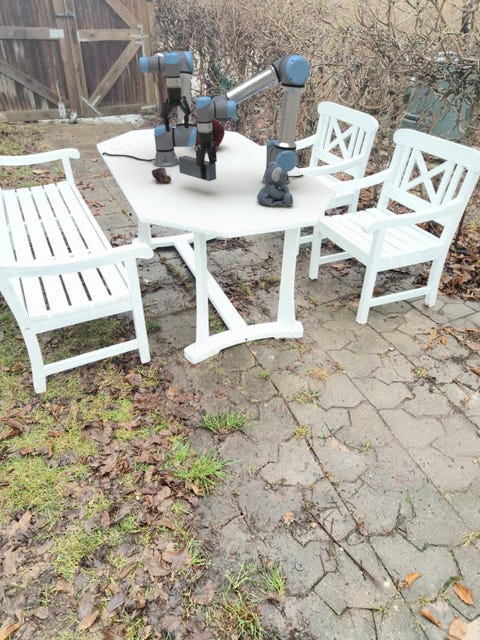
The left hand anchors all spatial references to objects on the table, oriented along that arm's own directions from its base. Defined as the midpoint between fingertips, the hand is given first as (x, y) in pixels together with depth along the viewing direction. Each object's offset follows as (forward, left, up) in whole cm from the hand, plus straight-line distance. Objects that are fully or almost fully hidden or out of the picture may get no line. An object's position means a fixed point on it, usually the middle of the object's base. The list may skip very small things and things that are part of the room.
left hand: (177, 129), depth 248 cm
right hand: (+29, -7, -19) cm, 36 cm away
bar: (+22, -7, -20) cm, 30 cm away
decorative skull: (-42, +63, -28) cm, 81 cm away
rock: (-7, -9, -28) cm, 31 cm away
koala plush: (+64, +8, -28) cm, 70 cm away
